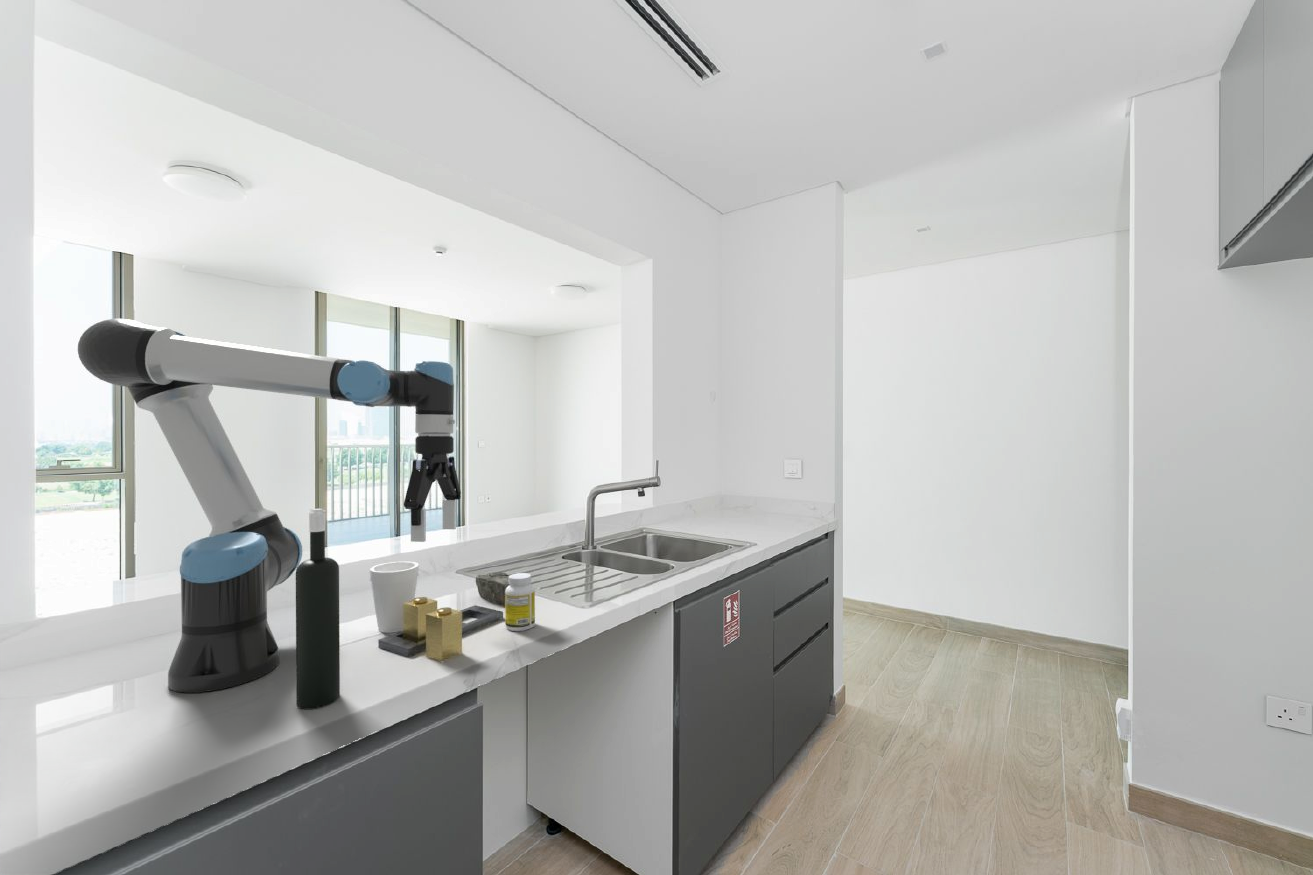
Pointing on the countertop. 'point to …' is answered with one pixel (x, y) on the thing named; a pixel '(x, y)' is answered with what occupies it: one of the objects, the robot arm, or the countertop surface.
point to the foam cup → (393, 592)
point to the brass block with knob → (417, 618)
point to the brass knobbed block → (443, 634)
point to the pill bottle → (519, 603)
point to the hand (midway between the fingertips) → (434, 535)
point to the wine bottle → (317, 622)
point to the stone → (493, 586)
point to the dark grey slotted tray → (410, 648)
